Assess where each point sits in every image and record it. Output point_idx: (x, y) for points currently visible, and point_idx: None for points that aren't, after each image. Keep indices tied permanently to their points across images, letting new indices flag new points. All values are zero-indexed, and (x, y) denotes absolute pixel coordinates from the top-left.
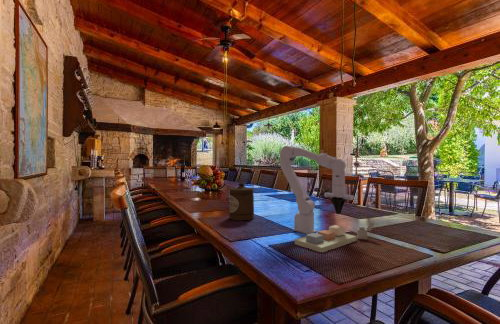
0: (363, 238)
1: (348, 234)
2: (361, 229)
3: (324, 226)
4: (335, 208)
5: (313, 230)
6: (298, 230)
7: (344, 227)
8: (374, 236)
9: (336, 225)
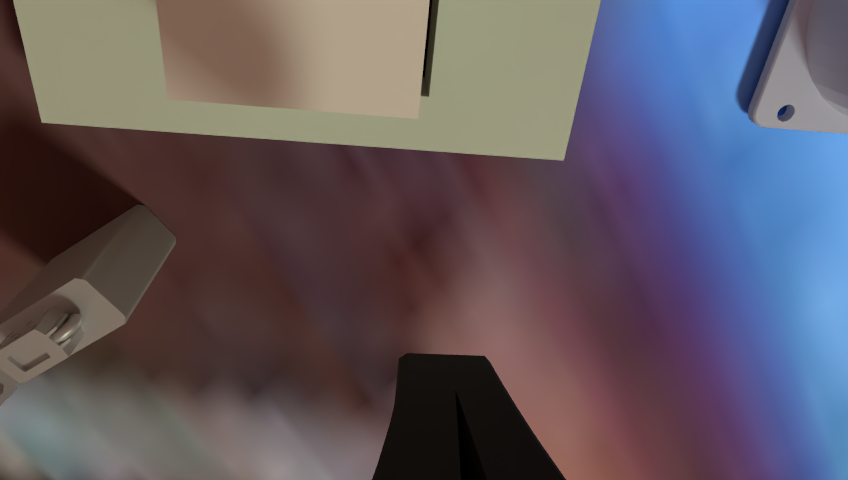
0: (78, 244)
1: (192, 127)
2: (40, 312)
3: (739, 393)
4: (526, 470)
5: (814, 34)
6: None
7: (168, 80)
8: (99, 417)
9: (377, 99)
